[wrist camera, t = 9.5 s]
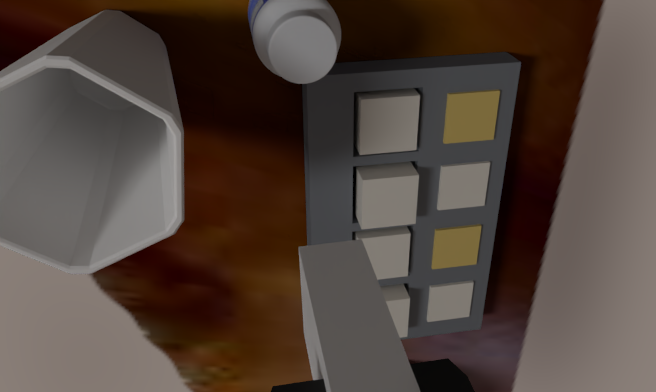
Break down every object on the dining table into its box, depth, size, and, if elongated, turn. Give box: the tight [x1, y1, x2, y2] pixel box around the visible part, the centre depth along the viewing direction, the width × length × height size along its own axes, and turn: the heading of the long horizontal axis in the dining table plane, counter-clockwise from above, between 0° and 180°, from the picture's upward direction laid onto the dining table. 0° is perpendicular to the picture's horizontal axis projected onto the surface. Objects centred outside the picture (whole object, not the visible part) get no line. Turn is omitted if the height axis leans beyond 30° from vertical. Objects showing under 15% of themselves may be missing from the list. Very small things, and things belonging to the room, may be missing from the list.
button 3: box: [352, 226, 411, 280], centre depth 52 cm, size 4×4×2 cm
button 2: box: [355, 161, 419, 229], centre depth 48 cm, size 4×4×2 cm
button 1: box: [353, 88, 420, 155], centre depth 46 cm, size 4×4×2 cm
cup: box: [0, 10, 184, 274], centre depth 35 cm, size 11×10×17 cm
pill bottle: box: [248, 0, 341, 84], centre depth 38 cm, size 5×5×10 cm
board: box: [302, 52, 521, 340], centre depth 51 cm, size 26×16×3 cm, turn 1°
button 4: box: [380, 284, 410, 338], centre depth 54 cm, size 4×4×2 cm
